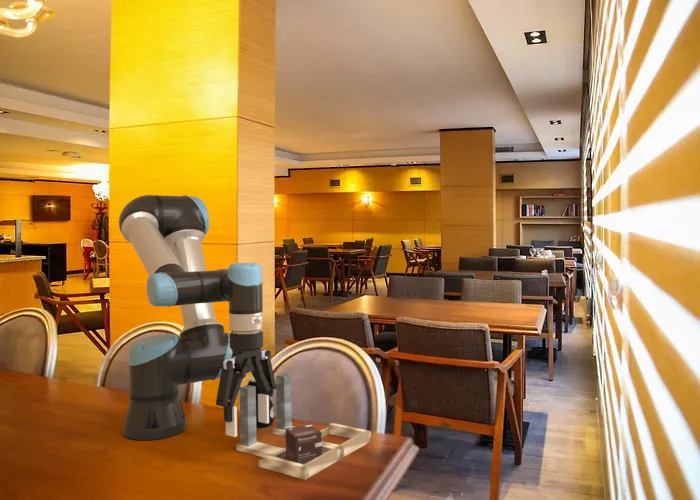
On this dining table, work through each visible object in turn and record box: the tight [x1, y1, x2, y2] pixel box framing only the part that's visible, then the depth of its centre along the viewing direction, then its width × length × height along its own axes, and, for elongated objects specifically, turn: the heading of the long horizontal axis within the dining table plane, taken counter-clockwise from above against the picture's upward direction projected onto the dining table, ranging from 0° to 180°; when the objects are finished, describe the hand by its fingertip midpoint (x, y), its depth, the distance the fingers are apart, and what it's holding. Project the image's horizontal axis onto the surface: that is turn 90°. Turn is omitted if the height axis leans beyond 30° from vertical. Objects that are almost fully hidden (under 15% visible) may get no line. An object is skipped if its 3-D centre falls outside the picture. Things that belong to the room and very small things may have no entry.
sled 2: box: [272, 373, 372, 460], centre depth 136 cm, size 23×12×14 cm, turn 56°
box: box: [285, 424, 323, 465], centre depth 122 cm, size 6×6×7 cm
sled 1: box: [235, 384, 341, 481], centre depth 126 cm, size 23×12×14 cm, turn 56°
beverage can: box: [246, 376, 275, 429], centre depth 148 cm, size 7×7×12 cm
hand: (248, 428), depth 131 cm, fingers open, 10 cm apart
